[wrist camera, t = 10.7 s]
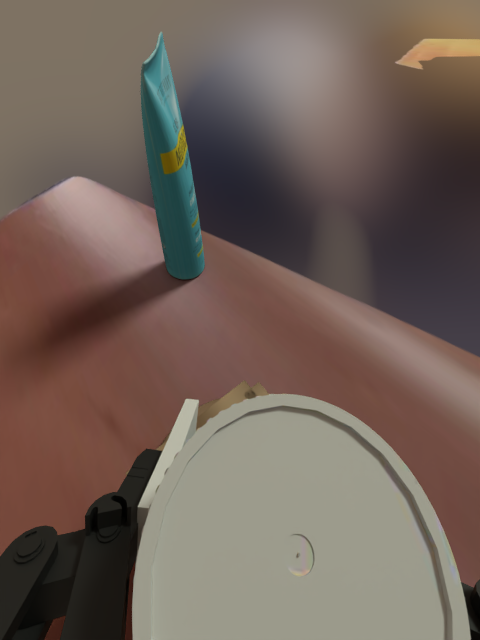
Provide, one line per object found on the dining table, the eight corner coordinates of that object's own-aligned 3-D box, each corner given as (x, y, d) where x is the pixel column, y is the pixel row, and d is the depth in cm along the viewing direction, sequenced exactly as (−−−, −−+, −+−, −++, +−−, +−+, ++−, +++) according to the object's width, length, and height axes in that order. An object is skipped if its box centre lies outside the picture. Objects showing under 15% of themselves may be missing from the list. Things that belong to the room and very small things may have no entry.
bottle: (255, 589, 15) (488, 1359, 2) (170, 508, 16) (1, 643, 4) (305, 476, 18) (511, 495, 5) (229, 419, 20) (247, 330, 7)
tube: (206, 286, 30) (190, 64, 13) (165, 288, 29) (97, 58, 13) (203, 245, 33) (188, 33, 17) (167, 246, 33) (117, 27, 17)
